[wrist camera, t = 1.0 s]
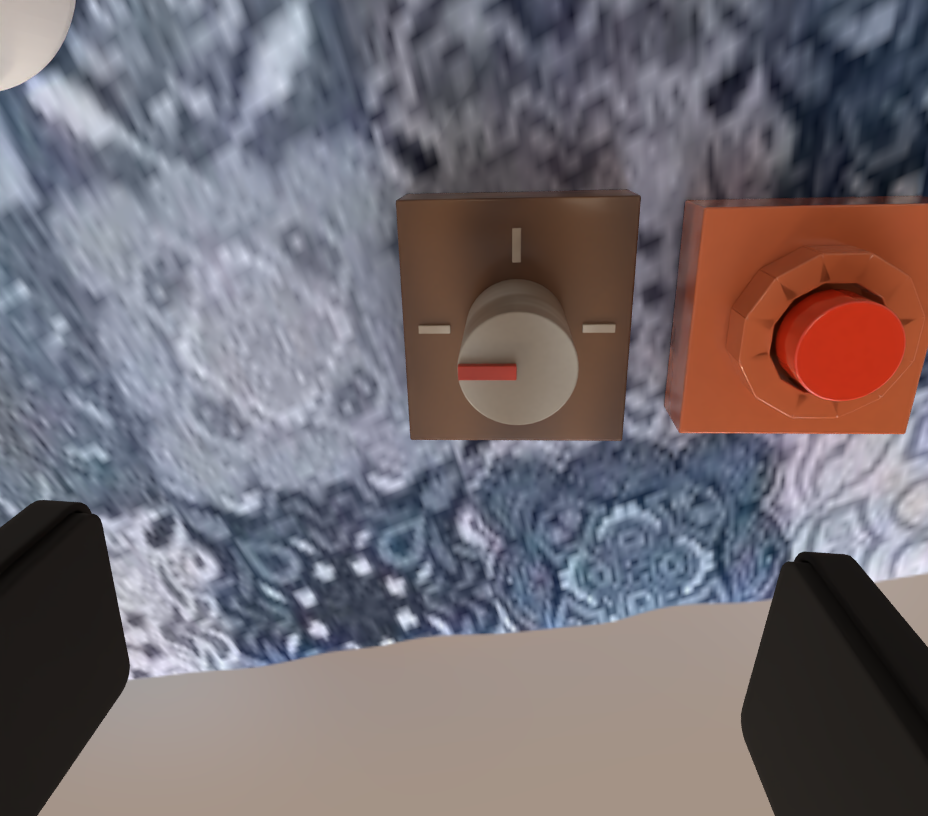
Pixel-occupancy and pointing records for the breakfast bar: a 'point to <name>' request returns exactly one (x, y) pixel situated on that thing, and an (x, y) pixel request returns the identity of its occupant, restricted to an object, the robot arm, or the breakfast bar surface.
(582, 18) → the breakfast bar surface
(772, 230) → the button base
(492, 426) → the base
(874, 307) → the red button
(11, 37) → the coffeepot
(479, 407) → the dial
